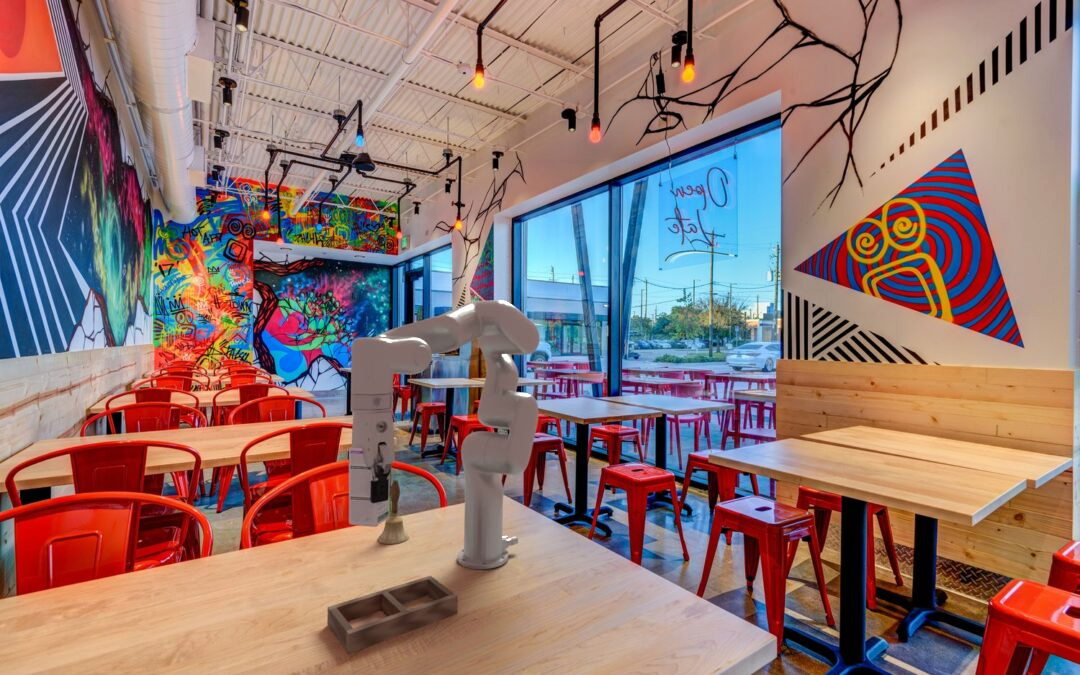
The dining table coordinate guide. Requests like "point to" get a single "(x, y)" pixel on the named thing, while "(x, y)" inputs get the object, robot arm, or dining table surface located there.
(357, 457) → the syrup box
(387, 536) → the hand bell
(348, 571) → the dining table surface
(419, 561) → the dining table surface
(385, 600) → the rack
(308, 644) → the dining table surface
